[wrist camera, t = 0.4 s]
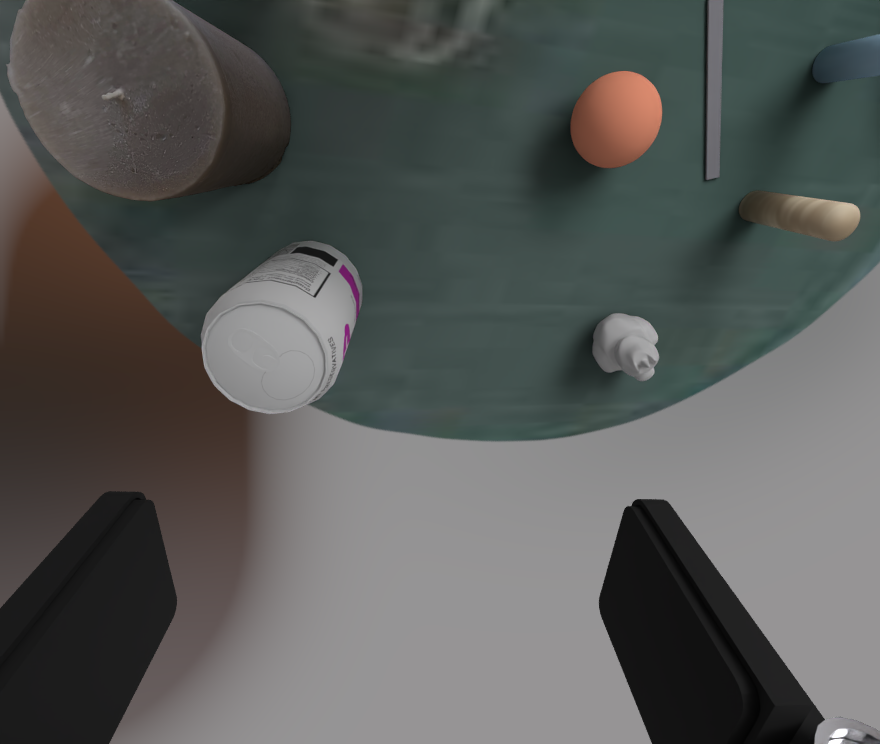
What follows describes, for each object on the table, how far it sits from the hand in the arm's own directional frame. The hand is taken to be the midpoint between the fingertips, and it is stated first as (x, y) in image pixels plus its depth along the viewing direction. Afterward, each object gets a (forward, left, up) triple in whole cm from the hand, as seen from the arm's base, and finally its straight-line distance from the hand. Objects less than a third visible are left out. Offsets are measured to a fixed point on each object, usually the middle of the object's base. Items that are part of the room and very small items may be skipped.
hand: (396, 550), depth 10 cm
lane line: (-5, +25, -33) cm, 42 cm away
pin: (-5, +33, -33) cm, 47 cm away
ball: (-5, +16, -30) cm, 35 cm away
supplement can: (+2, -9, -33) cm, 34 cm away
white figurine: (+13, +16, -33) cm, 39 cm away
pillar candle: (-12, -11, -33) cm, 37 cm away
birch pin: (+4, +28, -33) cm, 44 cm away
